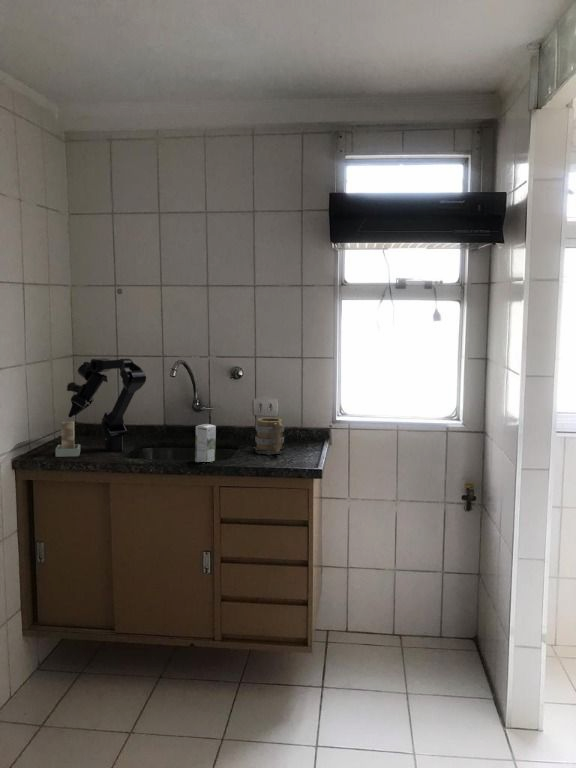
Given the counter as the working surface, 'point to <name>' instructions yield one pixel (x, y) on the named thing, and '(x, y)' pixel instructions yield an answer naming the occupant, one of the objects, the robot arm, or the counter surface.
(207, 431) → the syrup box
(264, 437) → the tankard
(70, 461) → the counter surface
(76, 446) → the holder
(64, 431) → the birch block
